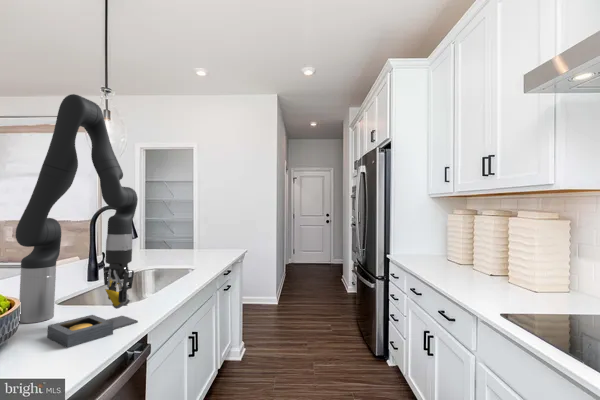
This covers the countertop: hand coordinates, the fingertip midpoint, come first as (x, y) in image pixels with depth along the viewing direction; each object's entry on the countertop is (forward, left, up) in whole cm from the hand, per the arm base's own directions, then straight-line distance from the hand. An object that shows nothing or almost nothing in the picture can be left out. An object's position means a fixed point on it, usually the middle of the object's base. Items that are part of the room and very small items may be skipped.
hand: (117, 300), depth 107 cm
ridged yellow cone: (0, 0, -3) cm, 3 cm away
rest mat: (0, 0, -7) cm, 7 cm away
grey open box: (+2, -12, -7) cm, 14 cm away
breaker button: (+2, -11, -7) cm, 14 cm away
